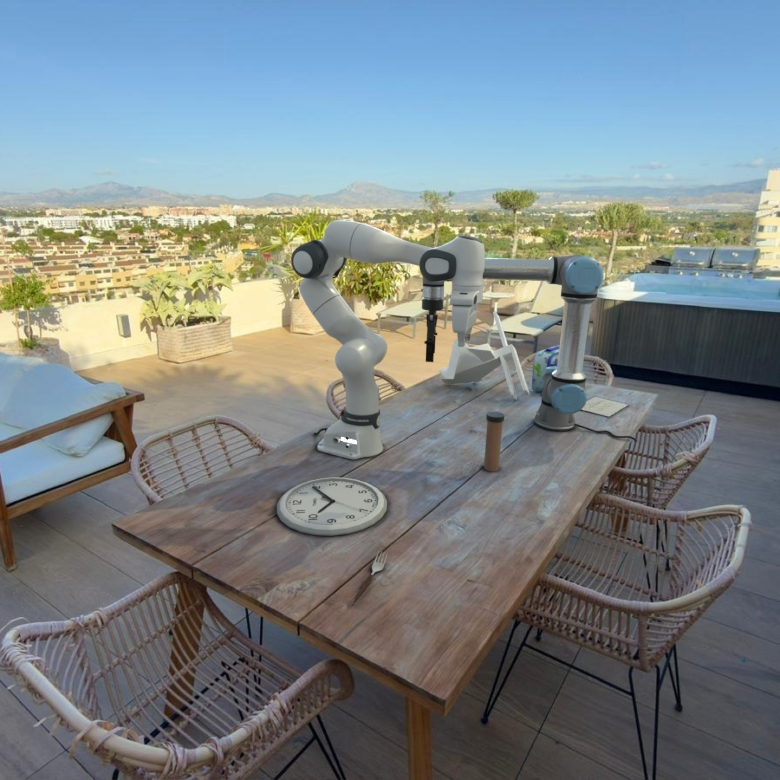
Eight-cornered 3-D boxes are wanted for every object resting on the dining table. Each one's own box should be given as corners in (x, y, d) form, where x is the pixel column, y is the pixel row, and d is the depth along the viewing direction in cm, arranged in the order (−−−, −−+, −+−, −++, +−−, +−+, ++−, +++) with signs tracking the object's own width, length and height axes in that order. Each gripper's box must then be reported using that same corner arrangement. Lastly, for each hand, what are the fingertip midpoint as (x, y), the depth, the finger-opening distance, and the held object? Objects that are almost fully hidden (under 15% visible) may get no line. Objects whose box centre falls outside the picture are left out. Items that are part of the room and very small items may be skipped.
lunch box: (548, 398, 236) (553, 353, 229) (527, 393, 243) (531, 349, 237) (575, 387, 253) (581, 344, 247) (555, 382, 260) (560, 341, 254)
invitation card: (608, 416, 214) (573, 407, 224) (608, 416, 214) (573, 408, 224) (628, 404, 229) (594, 396, 238) (628, 405, 229) (594, 397, 238)
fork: (349, 601, 106) (348, 593, 105) (377, 557, 120) (377, 550, 120) (360, 605, 105) (360, 596, 105) (388, 560, 119) (388, 552, 119)
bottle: (484, 464, 169) (488, 412, 164) (499, 466, 168) (503, 414, 163) (483, 470, 165) (487, 417, 160) (497, 472, 164) (502, 419, 159)
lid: (487, 415, 165) (487, 410, 164) (504, 417, 163) (505, 412, 163) (485, 421, 160) (485, 416, 159) (503, 423, 159) (503, 418, 158)
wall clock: (392, 527, 129) (268, 531, 127) (391, 533, 130) (269, 537, 127) (383, 473, 158) (282, 475, 155) (383, 478, 158) (282, 480, 156)
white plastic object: (461, 429, 252) (437, 405, 227) (444, 352, 274) (420, 323, 250) (535, 404, 240) (518, 377, 215) (510, 326, 262) (492, 293, 237)
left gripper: (462, 290, 158) (460, 335, 163) (448, 299, 140) (446, 349, 144) (483, 291, 157) (480, 337, 161) (472, 300, 138) (469, 351, 142)
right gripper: (424, 293, 195) (422, 349, 202) (419, 302, 172) (417, 365, 178) (444, 294, 195) (441, 350, 201) (442, 303, 171) (439, 366, 177)
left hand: (464, 343), depth 152 cm, fingers open, 8 cm apart
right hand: (430, 357), depth 190 cm, fingers open, 13 cm apart
